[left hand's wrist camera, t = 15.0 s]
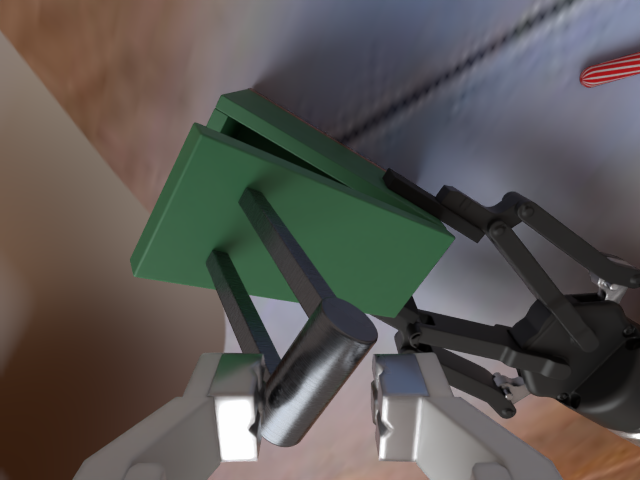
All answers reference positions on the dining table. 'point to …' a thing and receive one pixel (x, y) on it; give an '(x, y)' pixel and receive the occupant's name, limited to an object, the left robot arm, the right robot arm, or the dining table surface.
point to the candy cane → (611, 70)
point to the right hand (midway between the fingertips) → (358, 222)
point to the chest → (303, 146)
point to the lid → (286, 263)
